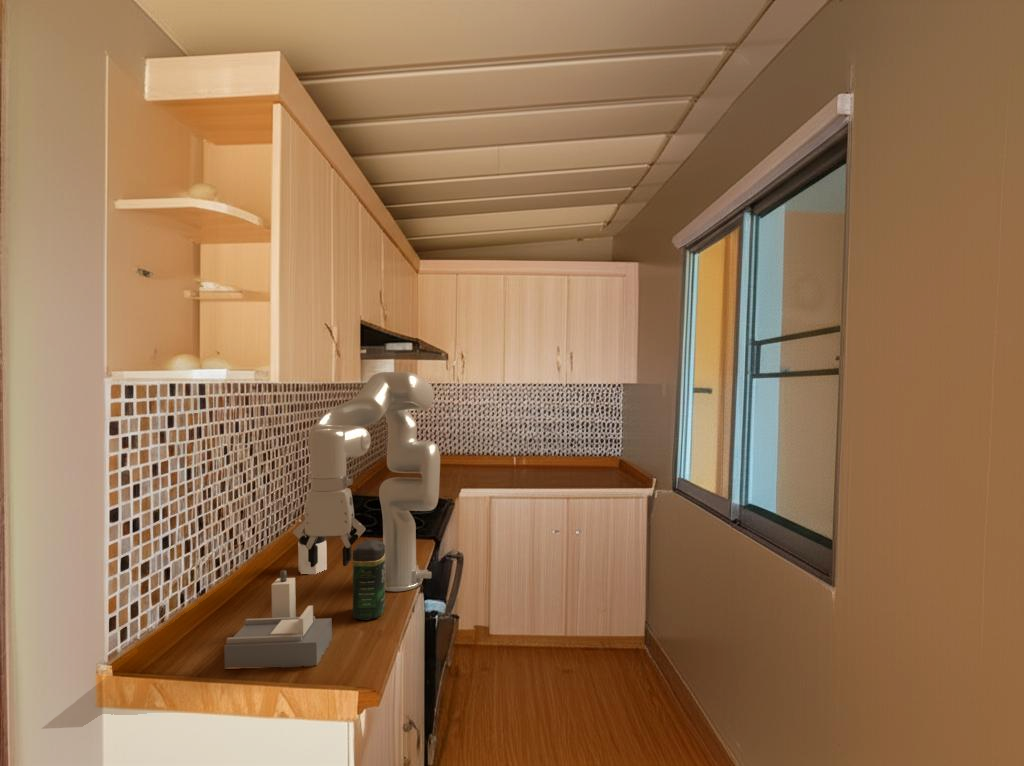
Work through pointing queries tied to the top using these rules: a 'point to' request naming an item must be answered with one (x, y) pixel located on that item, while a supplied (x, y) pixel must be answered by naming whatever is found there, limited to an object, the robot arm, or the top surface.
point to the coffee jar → (368, 579)
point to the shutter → (295, 624)
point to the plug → (283, 597)
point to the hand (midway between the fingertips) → (330, 563)
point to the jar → (303, 557)
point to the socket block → (277, 644)
